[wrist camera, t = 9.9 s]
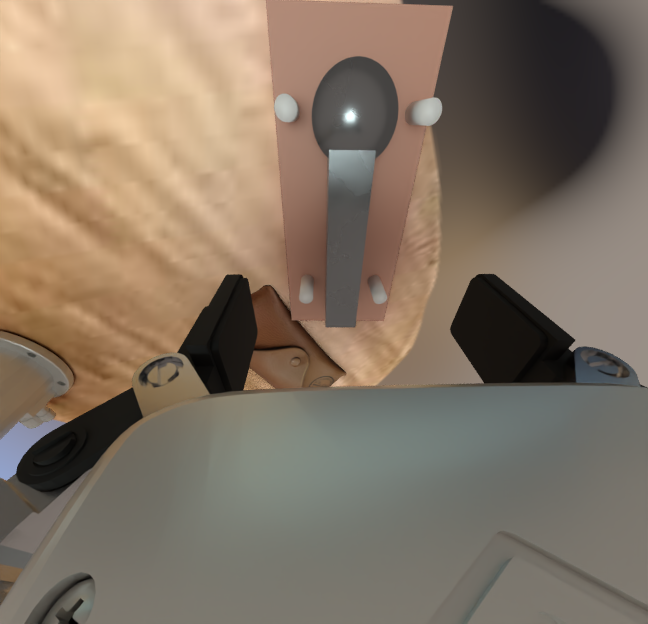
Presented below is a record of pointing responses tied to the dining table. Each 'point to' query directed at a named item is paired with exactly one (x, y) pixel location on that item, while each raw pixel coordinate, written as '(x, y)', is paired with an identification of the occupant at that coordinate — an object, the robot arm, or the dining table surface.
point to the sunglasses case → (287, 348)
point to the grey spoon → (350, 170)
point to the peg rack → (311, 163)
